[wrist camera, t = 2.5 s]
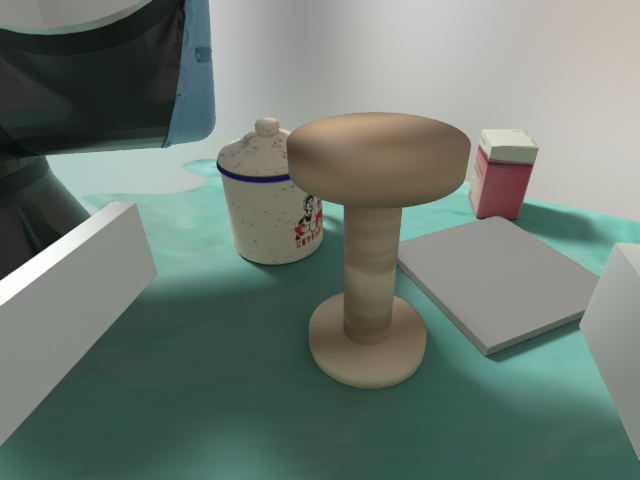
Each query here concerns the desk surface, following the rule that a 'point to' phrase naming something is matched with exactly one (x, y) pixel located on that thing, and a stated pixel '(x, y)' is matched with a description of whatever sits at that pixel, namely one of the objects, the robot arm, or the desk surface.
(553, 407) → the desk surface
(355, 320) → the stool
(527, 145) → the small box
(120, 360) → the desk surface
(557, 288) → the mat
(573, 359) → the desk surface
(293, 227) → the teacup with lid
